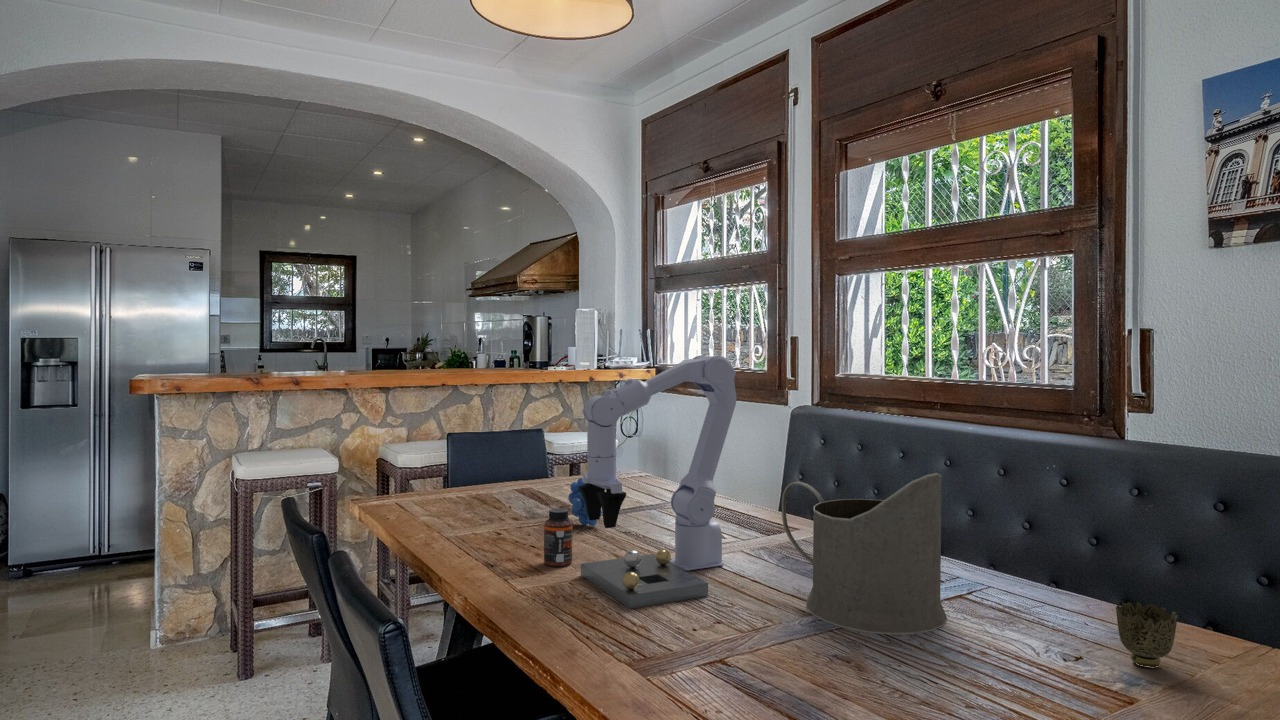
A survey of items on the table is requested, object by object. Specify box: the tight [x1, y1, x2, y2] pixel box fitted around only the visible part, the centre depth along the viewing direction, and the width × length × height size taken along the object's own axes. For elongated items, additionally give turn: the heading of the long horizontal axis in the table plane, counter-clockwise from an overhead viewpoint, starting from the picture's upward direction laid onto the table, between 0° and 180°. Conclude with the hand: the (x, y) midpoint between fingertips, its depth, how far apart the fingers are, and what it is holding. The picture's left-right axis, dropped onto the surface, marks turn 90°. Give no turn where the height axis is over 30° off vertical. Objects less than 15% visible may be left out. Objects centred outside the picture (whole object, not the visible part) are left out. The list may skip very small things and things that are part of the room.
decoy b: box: [623, 572, 639, 589], centre depth 135 cm, size 3×3×3 cm
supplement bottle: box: [543, 508, 574, 568], centre depth 160 cm, size 6×6×11 cm
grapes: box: [567, 477, 603, 527], centre depth 195 cm, size 12×7×12 cm, turn 48°
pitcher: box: [781, 472, 948, 636], centre depth 135 cm, size 23×32×25 cm
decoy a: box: [655, 549, 672, 565], centre depth 151 cm, size 3×3×3 cm
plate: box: [580, 553, 709, 610], centre depth 145 cm, size 16×22×2 cm
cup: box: [1114, 601, 1179, 667], centre depth 109 cm, size 8×7×8 cm
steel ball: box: [623, 549, 642, 568], centre depth 149 cm, size 3×3×3 cm
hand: (602, 523), depth 153 cm, fingers open, 7 cm apart
